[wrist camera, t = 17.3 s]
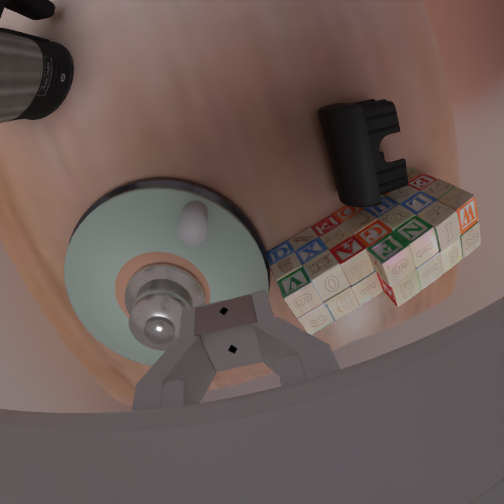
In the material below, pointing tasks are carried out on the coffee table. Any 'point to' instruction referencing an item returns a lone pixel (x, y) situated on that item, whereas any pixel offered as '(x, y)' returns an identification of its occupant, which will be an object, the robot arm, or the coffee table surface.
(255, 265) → the turntable
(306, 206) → the coffee table surface
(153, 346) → the cover
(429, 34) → the coffee table surface
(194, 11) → the coffee table surface
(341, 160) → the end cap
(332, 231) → the stack of blocks
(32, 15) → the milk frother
